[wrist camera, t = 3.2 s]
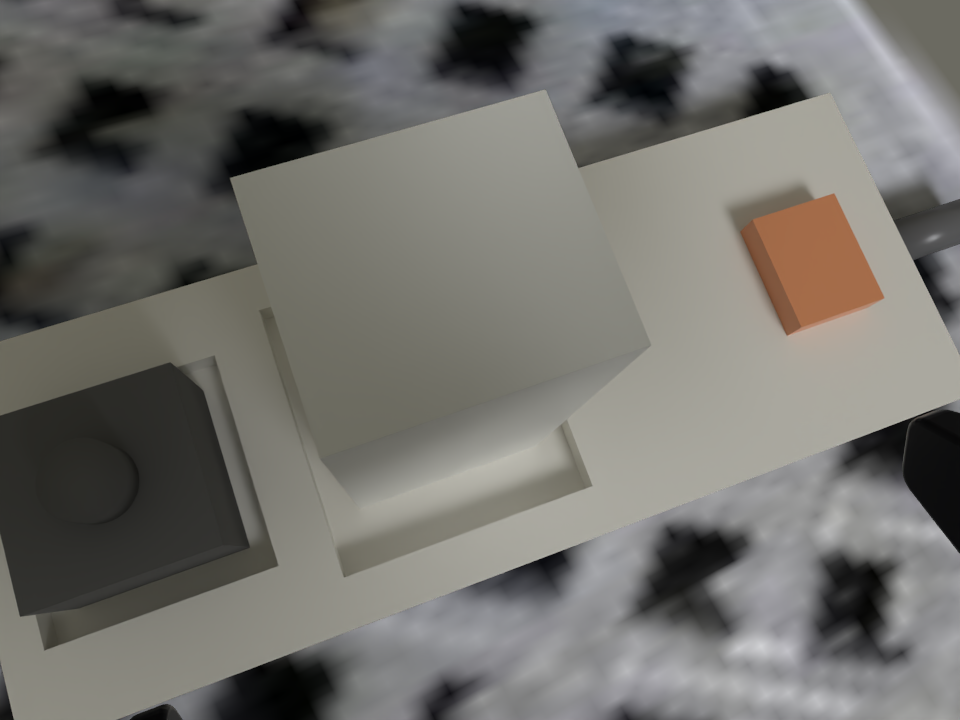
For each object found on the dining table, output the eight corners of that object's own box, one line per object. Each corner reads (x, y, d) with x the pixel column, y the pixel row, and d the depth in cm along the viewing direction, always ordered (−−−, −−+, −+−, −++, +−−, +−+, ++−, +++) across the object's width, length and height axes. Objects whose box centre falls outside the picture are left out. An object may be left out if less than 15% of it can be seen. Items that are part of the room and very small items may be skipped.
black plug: (203, 390, 20) (156, 350, 17) (250, 547, 20) (212, 543, 16) (37, 444, 20) (-53, 415, 16) (78, 608, 19) (-5, 620, 15)
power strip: (889, 96, 25) (939, 48, 23) (1028, 369, 23) (1097, 348, 21) (-34, 376, 21) (-90, 353, 18) (53, 740, 19) (4, 764, 17)
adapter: (538, 445, 21) (657, 342, 11) (360, 508, 20) (320, 458, 10) (484, 300, 22) (550, 87, 12) (309, 356, 21) (229, 178, 11)
